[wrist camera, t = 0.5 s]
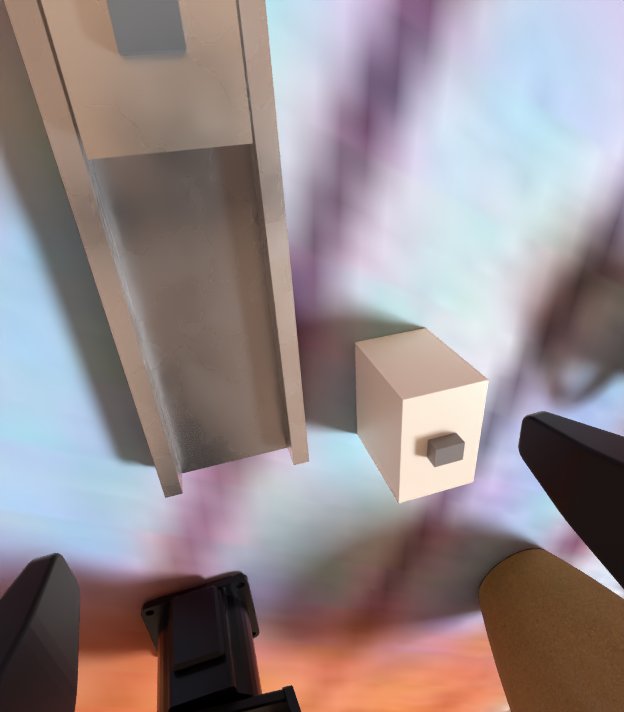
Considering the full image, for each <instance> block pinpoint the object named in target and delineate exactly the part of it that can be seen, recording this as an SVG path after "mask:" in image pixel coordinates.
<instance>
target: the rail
mask: <svg viewBox="0 0 624 712" xmlns="http://www.w3.org/2000/svg"><path fill="white" fill-rule="evenodd" d="M4 3H5V6H6V9H7V12H8V15H9V18H10V21H11V24H12V27H13V31H14V34H15V37H16V40H17V43H18V46H19V49H20V52H21V55H22V58H23V61H24V64H25V67H26V71H27V74H28V77H29V80H30V83H31V86H32V89H33V92H34V95H35V98H36V101H37V104H38V107H39V110H40V114H41V117H42V120H43V123H44V126H45V129H46V132H47V135H48V138H49V141H50V144H51V147H52V150H53V154H54V157H55V160H56V163H57V166H58V169H59V172H60V175H61V178H62V181H63V184H64V187H65V190H66V194H67V197H68V200H69V203H70V206H71V209H72V212H73V215H74V218H75V221H76V224H77V227H78V230H79V234H80V237H81V240H82V243H83V246H84V249H85V252H86V255H87V258H88V261H89V264H90V267H91V270H92V274H93V277H94V280H95V283H96V286H97V289H98V292H99V295H100V298H101V301H102V304H103V307H104V310H105V314H106V317H107V320H108V323H109V326H110V329H111V332H112V335H113V338H114V341H115V344H116V347H117V350H118V354H119V357H120V360H121V363H122V366H123V369H124V372H125V375H126V378H127V381H128V384H129V387H130V390H131V394H132V397H133V400H134V403H135V406H136V409H137V412H138V415H139V418H140V421H141V424H142V427H143V430H144V434H145V437H146V440H147V443H148V446H149V449H150V452H151V455H152V458H153V461H154V464H155V467H156V470H157V474H158V477H159V480H160V483H161V486H162V489H163V492H164V495H165V498H167V497H170V496H174V495H178V494H182V493H183V492H182V473H185V472H190V471H194V470H198V469H202V468H206V467H210V466H214V465H218V464H222V463H226V462H230V461H234V460H238V459H242V458H247V457H251V456H255V455H259V454H263V453H267V452H271V451H275V450H279V449H283V448H288V450H289V453H290V456H291V459H292V461H293V464H294V465H296V464H300V463H304V462H308V461H309V455H308V444H307V434H306V424H305V413H304V403H303V392H302V382H301V371H300V361H299V350H298V340H297V329H296V319H295V308H294V298H293V287H292V277H291V266H290V256H289V245H288V235H287V225H286V214H285V204H284V193H283V183H282V172H281V162H280V151H279V141H278V130H277V120H276V109H275V99H274V88H273V78H272V67H271V57H270V47H269V36H268V26H267V15H266V5H265V0H4Z"/></svg>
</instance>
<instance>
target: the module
mask: <svg viewBox="0 0 624 712" xmlns="http://www.w3.org/2000/svg"><path fill="white" fill-rule="evenodd" d="M355 366H356V408H357V435H358V436H359V438H360V440H361V441H362V443H363V445H364V446H365V448H366V450H367V451H368V453H369V455H370V456H371V458H372V460H373V461H374V463H375V465H376V466H377V468H378V470H379V471H380V473H381V475H382V476H383V478H384V480H385V481H386V483H387V485H388V486H389V488H390V490H391V491H392V493H393V495H394V496H395V498H396V500H397V501H398V503H402V502H406V501H409V500H413V499H416V498H420V497H423V496H426V495H430V494H433V493H437V492H440V491H444V490H447V489H451V488H454V487H458V486H461V485H465V484H468V483H472V482H473V480H474V474H475V467H476V460H477V454H478V447H479V441H480V434H481V427H482V421H483V414H484V407H485V401H486V394H487V388H488V381H489V380H488V379H487V378H486V377H485V376H483V375H482V374H481V373H480V372H479V371H477V370H476V369H475V368H474V367H473V366H471V365H470V364H469V363H468V362H467V361H465V360H464V359H463V358H462V357H460V356H459V355H458V354H457V353H456V352H454V351H453V350H452V349H451V348H450V347H448V346H447V345H446V344H445V343H444V342H442V341H441V340H440V339H439V338H437V337H436V336H435V335H434V334H433V333H431V332H430V331H429V330H428V329H427V328H423V329H418V330H413V331H408V332H403V333H398V334H393V335H388V336H383V337H378V338H373V339H368V340H363V341H358V342H355Z"/></svg>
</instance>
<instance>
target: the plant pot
mask: <svg viewBox="0 0 624 712" xmlns="http://www.w3.org/2000/svg"><path fill="white" fill-rule="evenodd" d="M478 598H479V603H480V607H481V611H482V615H483V619H484V623H485V627H486V631H487V635H488V639H489V642H490V646H491V650H492V653H493V657H494V660H495V664H496V667H497V670H498V673H499V676H500V680H501V683H502V686H503V689H504V692H505V695H506V698H507V701H508V704H509V707H510V710H511V712H624V599H623V598H621V597H620V596H618V595H617V594H615V593H614V592H612V591H611V590H609V589H608V588H606V587H605V586H603V585H602V584H600V583H599V582H597V581H596V580H594V579H593V578H591V577H590V576H588V575H586V574H585V573H583V572H582V571H580V570H579V569H577V568H575V567H573V566H572V565H570V564H568V563H567V562H565V561H563V560H562V559H560V558H558V557H557V556H555V555H553V554H551V553H550V552H548V551H546V550H542V549H529V550H525V551H522V552H519V553H516V554H514V555H512V556H510V557H509V558H507V559H505V560H504V561H502V562H501V563H499V564H498V565H497V566H496V567H494V568H493V569H492V570H491V571H490V573H489V574H488V575H487V576H486V577H485V579H484V580H483V582H482V584H481V586H480V588H479V593H478Z"/></svg>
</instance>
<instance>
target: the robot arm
mask: <svg viewBox="0 0 624 712" xmlns="http://www.w3.org/2000/svg"><path fill="white" fill-rule="evenodd" d="M518 448H519V452H520V455H521V457H522V459H523V460H524V462H525V463H526V465H527V466H528V467H529V469H530V470H531V472H532V473H533V475H534V476H535V478H536V479H537V480H538V482H539V483H540V485H541V486H542V488H543V489H544V490H545V492H546V493H547V495H548V496H549V498H550V499H551V500H552V502H553V503H554V505H555V506H556V508H557V509H558V510H559V512H560V513H561V514H562V516H563V517H564V518H565V520H566V521H567V522H568V524H569V525H570V526H571V527H572V529H573V530H574V531H575V532H576V533H577V534H578V536H579V537H580V538H581V539H582V540H583V542H584V543H585V544H586V545H587V546H588V547H589V549H590V550H591V551H592V552H593V553H594V555H595V556H596V557H597V558H598V559H599V560H600V562H601V563H602V564H603V565H604V566H605V568H606V569H607V570H608V571H609V572H610V573H611V575H612V576H613V577H614V578H615V579H616V581H617V582H618V583H619V584H620V585H621V586H622V588H623V589H624V437H623V436H620V435H617V434H614V433H611V432H608V431H605V430H601V429H598V428H595V427H592V426H589V425H586V424H583V423H580V422H577V421H573V420H570V419H567V418H564V417H561V416H558V415H555V414H552V413H549V412H545V411H541V412H537V413H533V414H530V415H527V416H525V417H524V419H523V421H522V426H521V432H520V438H519V445H518ZM79 615H80V590H79V585H78V582H77V580H76V579H75V577H74V575H73V573H72V572H71V570H70V568H69V566H68V565H67V563H66V561H65V559H64V558H63V556H62V555H61V554H59V553H53V554H50V555H46V556H43V557H40V558H36V559H34V560H32V561H31V562H30V563H29V564H28V565H27V566H26V567H25V568H24V570H23V571H22V572H21V573H20V575H19V576H18V577H17V578H16V579H15V581H14V582H13V583H12V584H11V586H10V587H9V588H8V589H7V591H6V592H5V593H4V594H3V596H2V597H1V598H0V712H75V705H76V696H77V681H78V650H79ZM141 616H142V618H143V620H144V623H145V625H146V627H147V629H148V632H149V634H150V636H151V638H152V641H153V643H154V645H155V647H156V650H157V652H158V674H157V712H301V710H300V707H299V704H298V701H297V698H296V695H295V692H294V689H293V686H292V685H291V686H286V687H283V688H282V690H278V691H273V692H269V693H265V694H262V690H261V684H260V678H259V672H258V666H257V660H256V654H255V648H254V642H253V638H255V637H257V636H258V635H259V627H258V622H257V618H256V613H255V609H254V605H253V600H252V596H251V591H250V587H249V582H248V578H247V576H246V575H243V574H241V575H236V576H233V577H230V578H226V579H223V580H220V581H216V582H213V583H210V584H206V585H203V586H200V587H196V588H193V589H190V590H186V591H183V592H180V593H176V594H173V595H170V596H166V597H163V598H160V599H156V600H153V601H150V602H147V603H145V604H144V605H143V606H142V608H141Z"/></svg>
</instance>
